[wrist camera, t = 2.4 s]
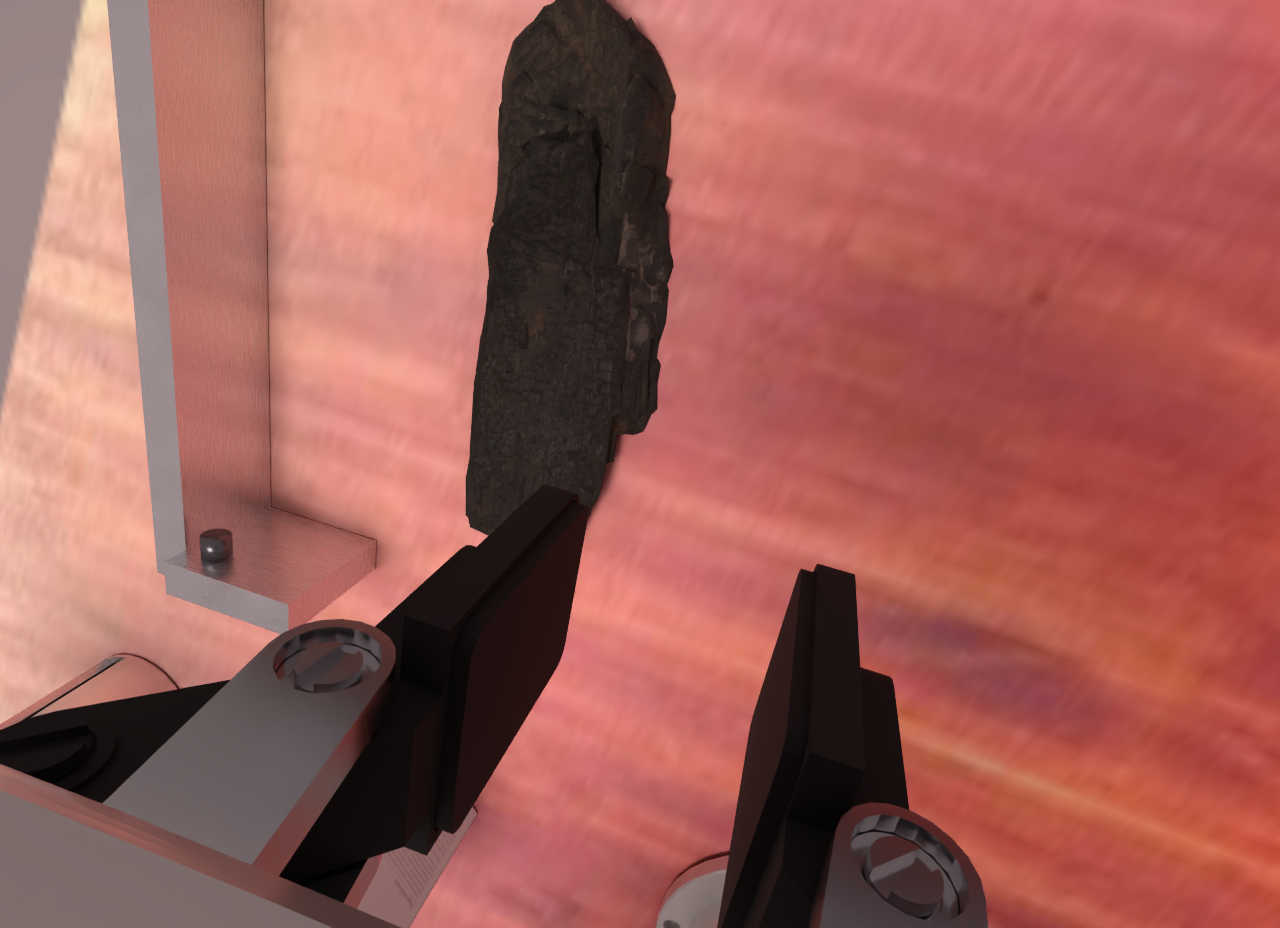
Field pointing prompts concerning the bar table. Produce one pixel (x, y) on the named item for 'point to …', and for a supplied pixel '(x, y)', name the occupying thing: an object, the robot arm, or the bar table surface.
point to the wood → (571, 259)
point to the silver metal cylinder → (101, 686)
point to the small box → (410, 878)
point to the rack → (211, 314)
